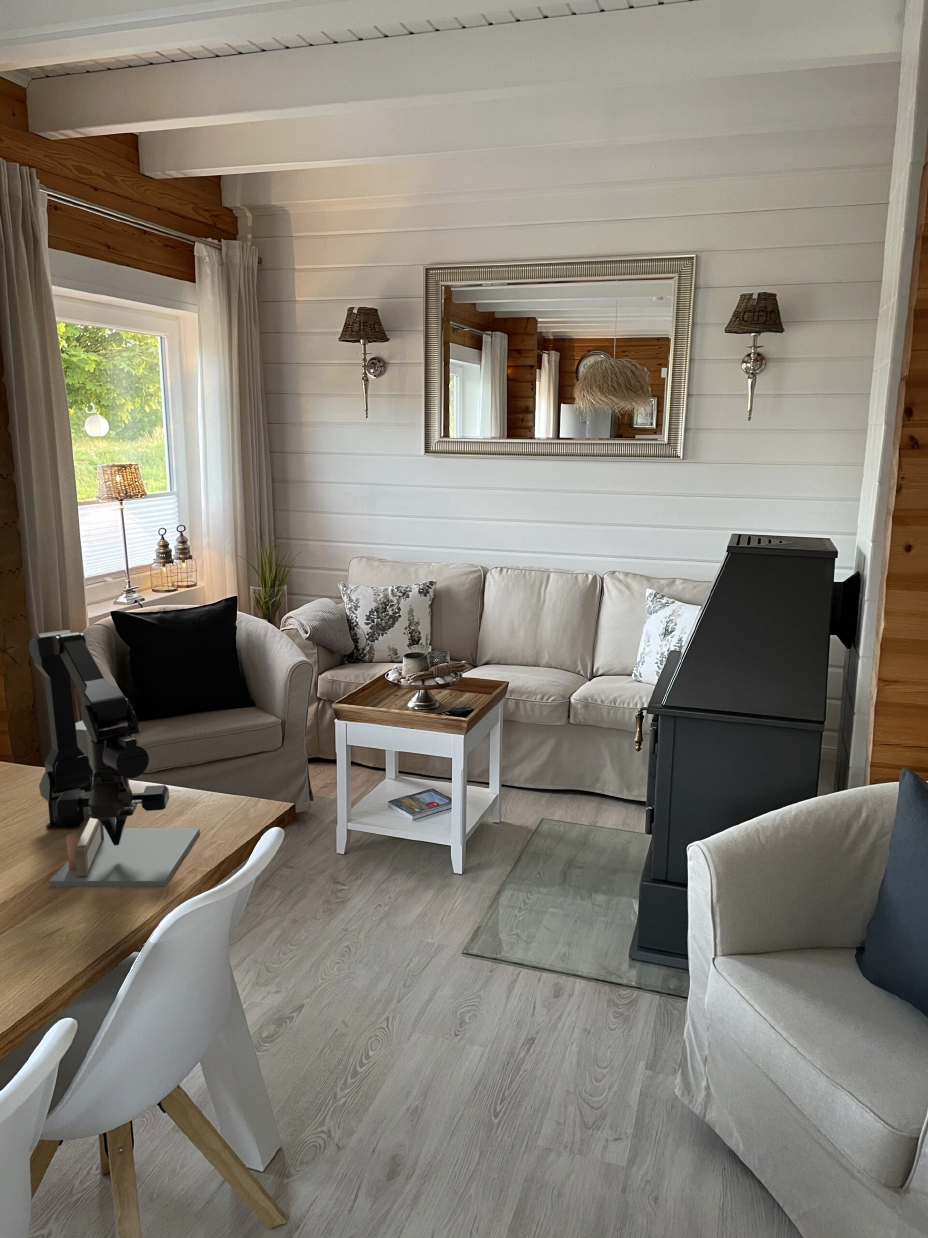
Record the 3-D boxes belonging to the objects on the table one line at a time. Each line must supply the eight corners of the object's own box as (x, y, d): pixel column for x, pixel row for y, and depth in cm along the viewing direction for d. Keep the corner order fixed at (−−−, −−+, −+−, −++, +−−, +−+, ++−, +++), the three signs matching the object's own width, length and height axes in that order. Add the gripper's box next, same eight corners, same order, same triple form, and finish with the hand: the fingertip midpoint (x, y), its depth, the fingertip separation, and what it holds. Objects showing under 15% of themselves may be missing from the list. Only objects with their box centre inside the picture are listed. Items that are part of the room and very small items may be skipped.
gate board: (49, 886, 158) (46, 846, 156) (98, 833, 179) (95, 797, 178) (164, 886, 158) (162, 846, 157) (199, 833, 180) (197, 797, 178)
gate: (92, 841, 173) (90, 816, 172) (101, 840, 173) (99, 816, 172) (76, 876, 159) (74, 849, 158) (86, 875, 159) (84, 849, 158)
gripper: (42, 783, 154) (50, 868, 157) (157, 776, 157) (163, 860, 160) (59, 760, 164) (67, 841, 167) (166, 754, 168) (172, 834, 170)
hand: (116, 844), depth 166 cm, fingers closed
